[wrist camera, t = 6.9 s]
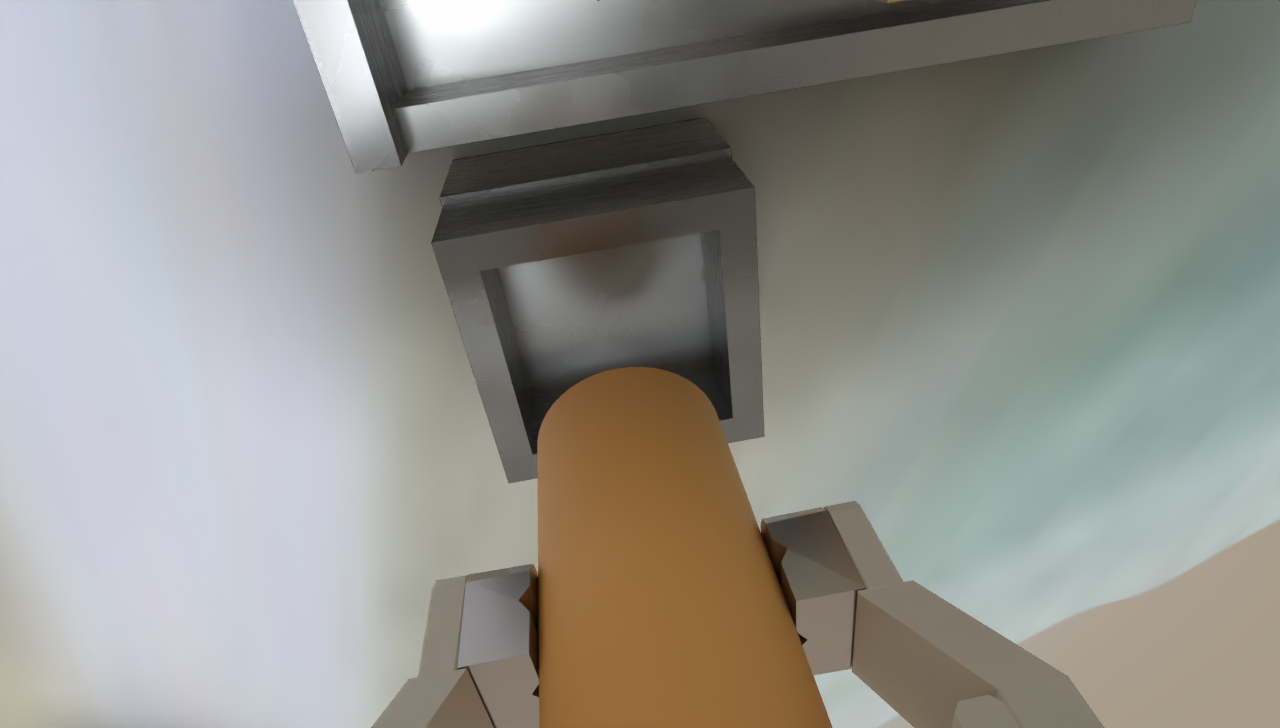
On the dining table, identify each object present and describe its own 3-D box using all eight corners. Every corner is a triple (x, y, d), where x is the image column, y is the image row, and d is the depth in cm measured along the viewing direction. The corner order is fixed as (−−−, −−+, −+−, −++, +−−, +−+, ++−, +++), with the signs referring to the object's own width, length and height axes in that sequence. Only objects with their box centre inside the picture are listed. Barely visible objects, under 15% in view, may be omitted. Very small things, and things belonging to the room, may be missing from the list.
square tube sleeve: (705, 117, 19) (759, 181, 14) (722, 333, 23) (768, 438, 18) (452, 160, 19) (424, 239, 14) (512, 371, 23) (505, 487, 18)
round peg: (713, 350, 13) (973, 978, 5) (725, 493, 15) (925, 1096, 7) (518, 386, 13) (495, 1081, 5) (557, 524, 15) (582, 1173, 7)
